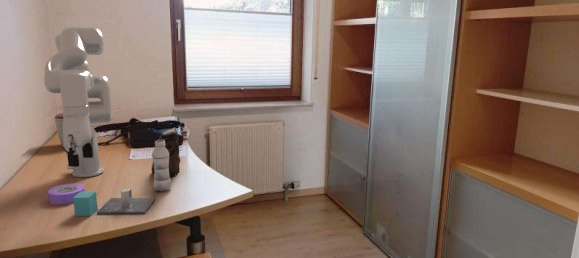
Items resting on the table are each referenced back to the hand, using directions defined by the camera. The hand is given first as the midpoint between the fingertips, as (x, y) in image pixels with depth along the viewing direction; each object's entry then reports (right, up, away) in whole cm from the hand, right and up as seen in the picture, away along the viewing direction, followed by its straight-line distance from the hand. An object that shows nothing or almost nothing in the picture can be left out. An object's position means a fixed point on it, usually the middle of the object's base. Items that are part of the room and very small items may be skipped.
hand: (81, 161), depth 132 cm
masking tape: (-14, -15, +16) cm, 26 cm away
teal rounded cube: (0, -18, +4) cm, 18 cm away
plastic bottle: (+19, -13, +25) cm, 34 cm away
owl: (+14, -9, +45) cm, 48 cm away
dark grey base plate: (+12, -17, +9) cm, 22 cm away
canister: (-49, +2, +87) cm, 100 cm away
